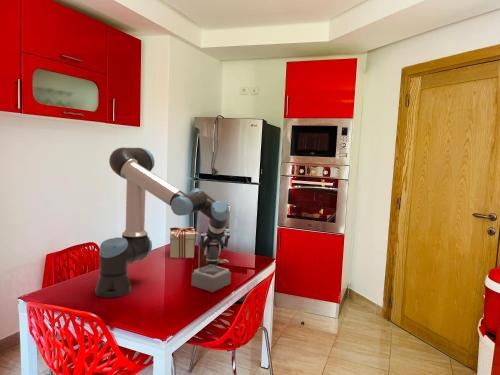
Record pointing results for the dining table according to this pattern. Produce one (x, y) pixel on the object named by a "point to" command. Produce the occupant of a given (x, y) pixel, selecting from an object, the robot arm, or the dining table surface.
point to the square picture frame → (199, 271)
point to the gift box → (182, 242)
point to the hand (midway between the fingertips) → (211, 252)
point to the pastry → (223, 261)
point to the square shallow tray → (211, 280)
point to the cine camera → (202, 257)
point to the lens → (212, 252)
